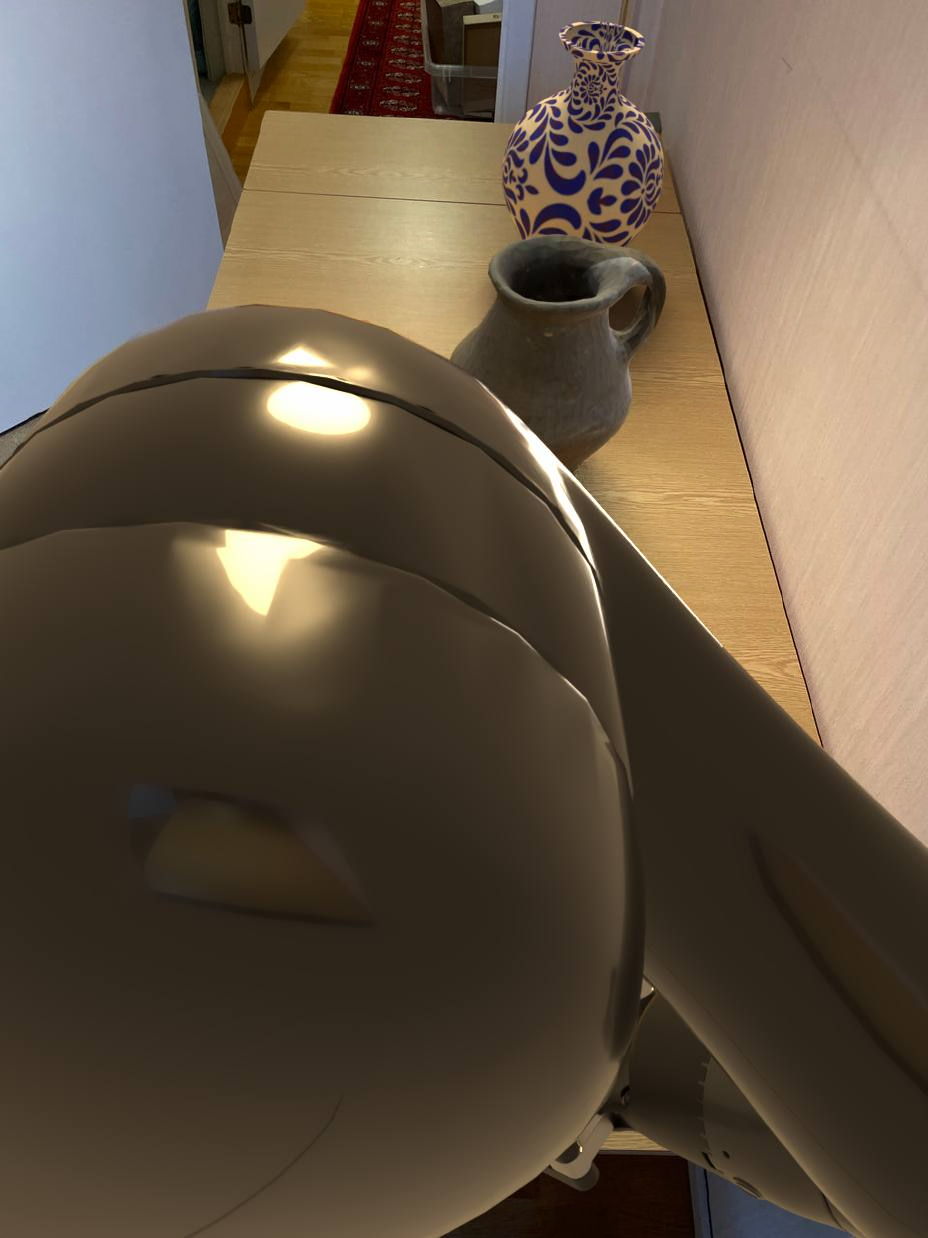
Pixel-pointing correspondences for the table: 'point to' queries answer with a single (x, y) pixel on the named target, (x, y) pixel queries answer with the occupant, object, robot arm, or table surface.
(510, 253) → the pitcher
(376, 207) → the table surface
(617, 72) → the vase
